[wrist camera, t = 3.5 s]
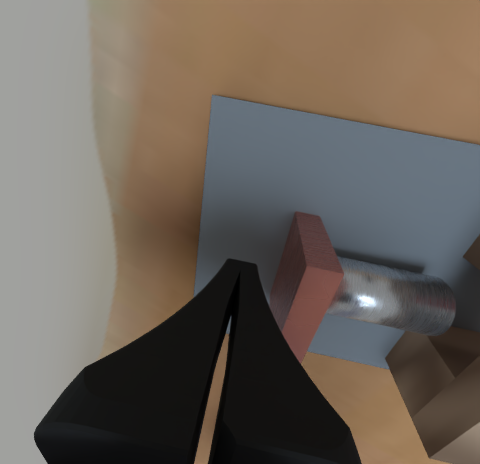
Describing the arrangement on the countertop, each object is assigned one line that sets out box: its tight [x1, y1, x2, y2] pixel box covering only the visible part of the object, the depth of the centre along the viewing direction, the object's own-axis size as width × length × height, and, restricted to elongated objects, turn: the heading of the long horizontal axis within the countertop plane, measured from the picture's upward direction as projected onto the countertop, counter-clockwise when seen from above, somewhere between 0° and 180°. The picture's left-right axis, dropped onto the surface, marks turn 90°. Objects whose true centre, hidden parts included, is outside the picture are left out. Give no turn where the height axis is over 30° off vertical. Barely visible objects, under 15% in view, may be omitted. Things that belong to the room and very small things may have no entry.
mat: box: [194, 95, 480, 369], centre depth 13 cm, size 14×20×1 cm
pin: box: [269, 211, 456, 364], centre depth 11 cm, size 7×6×4 cm
